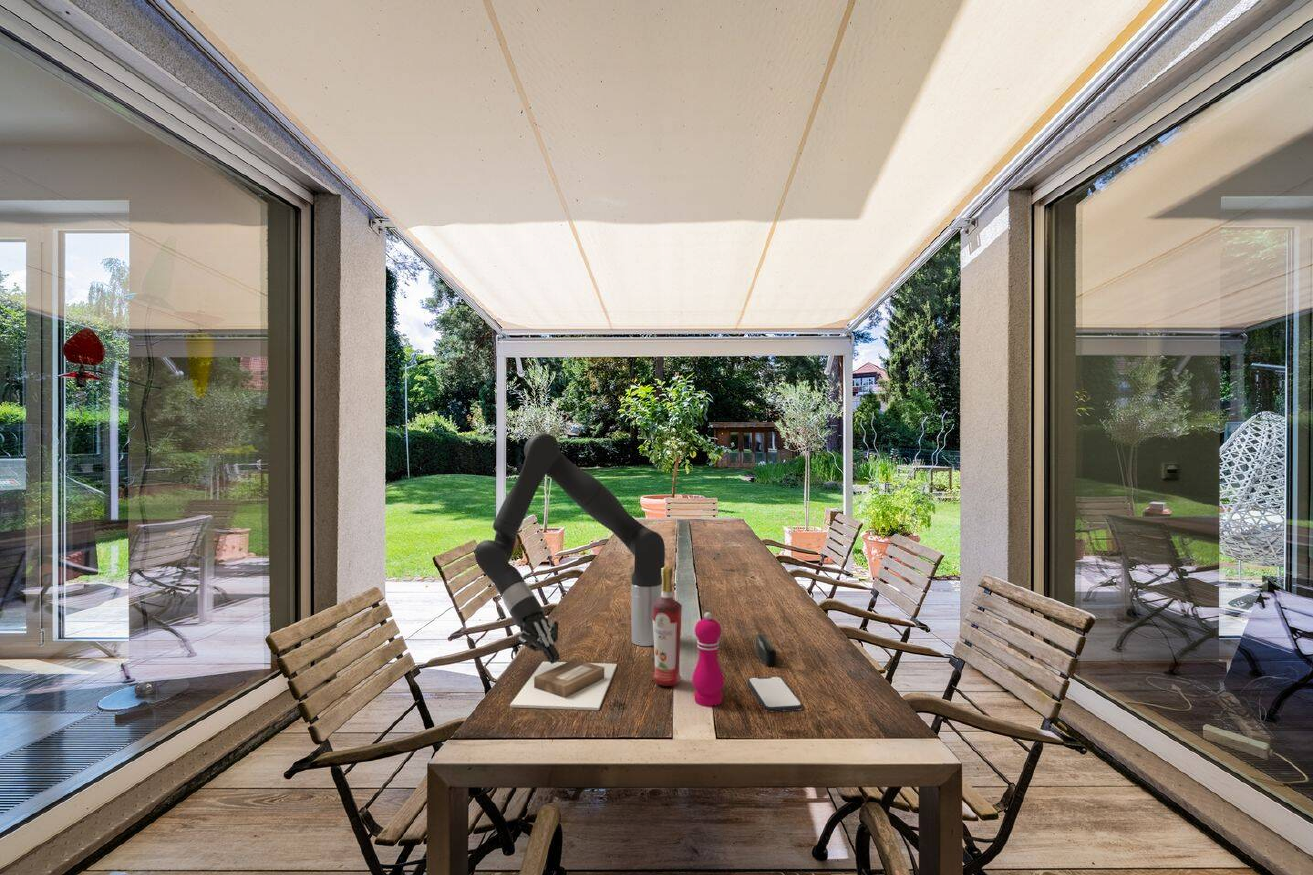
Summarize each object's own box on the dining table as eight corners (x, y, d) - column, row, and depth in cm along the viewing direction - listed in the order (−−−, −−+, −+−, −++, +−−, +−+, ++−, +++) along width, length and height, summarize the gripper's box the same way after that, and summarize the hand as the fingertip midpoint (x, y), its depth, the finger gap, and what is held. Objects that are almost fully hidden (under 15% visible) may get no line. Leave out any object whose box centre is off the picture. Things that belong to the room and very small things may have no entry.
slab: (534, 676, 137) (564, 686, 132) (574, 658, 149) (604, 666, 143) (534, 687, 137) (564, 697, 132) (574, 669, 149) (604, 677, 143)
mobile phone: (777, 649, 152) (762, 630, 167) (766, 649, 151) (751, 630, 166) (777, 668, 152) (762, 647, 167) (766, 668, 151) (751, 647, 166)
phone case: (804, 713, 127) (780, 682, 143) (804, 705, 127) (780, 675, 143) (765, 715, 126) (745, 684, 142) (765, 707, 126) (745, 677, 142)
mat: (616, 665, 153) (616, 663, 153) (598, 710, 127) (598, 707, 127) (542, 663, 154) (542, 661, 154) (510, 707, 128) (510, 704, 128)
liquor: (647, 686, 139) (647, 570, 140) (658, 675, 146) (657, 564, 147) (676, 690, 137) (676, 572, 137) (685, 679, 144) (685, 566, 144)
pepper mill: (703, 710, 127) (702, 618, 127) (686, 697, 133) (686, 610, 134) (730, 703, 130) (730, 614, 131) (712, 691, 137) (712, 606, 137)
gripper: (509, 600, 143) (544, 660, 136) (547, 589, 154) (582, 644, 147) (494, 618, 146) (528, 678, 139) (533, 606, 157) (566, 661, 150)
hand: (555, 660), depth 143 cm, fingers closed
